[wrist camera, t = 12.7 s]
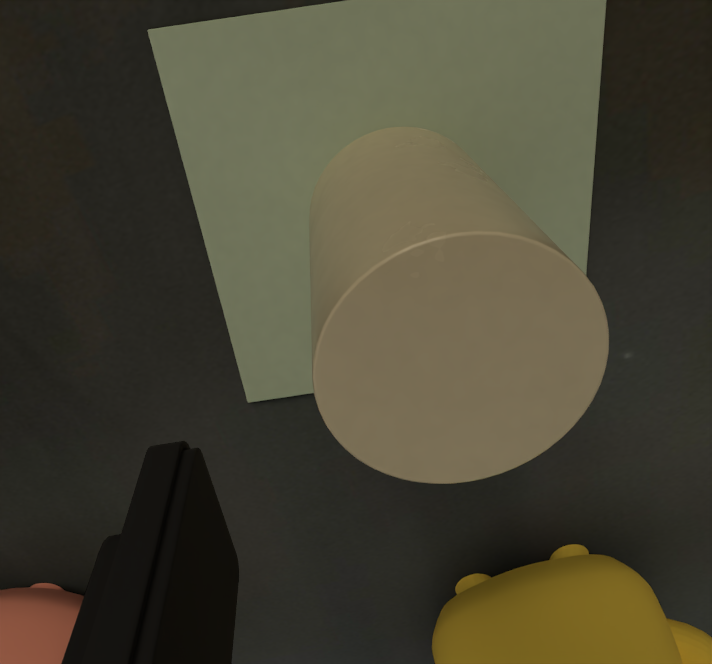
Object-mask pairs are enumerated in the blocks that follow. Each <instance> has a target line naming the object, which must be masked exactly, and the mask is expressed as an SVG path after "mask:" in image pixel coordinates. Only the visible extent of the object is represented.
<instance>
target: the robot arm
mask: <svg viewBox="0 0 712 664" xmlns="http://www.w3.org/2000/svg"><path fill="white" fill-rule="evenodd" d="M238 582H239V566H238V559H237V555H236V551H235V548H234V546H233V543H232V540H231V537H230V534H229V531H228V528H227V525H226V522H225V519H224V516H223V513H222V510H221V507H220V504H219V502H218V499H217V496H216V493H215V490H214V487H213V484H212V481H211V478H210V475H209V472H208V469H207V466H206V463H205V460H204V458H203V455H202V452H201V450H200V449H199V448H194V449H190V448H189V445H188V444H187V443H186V442H185V441H181V442H175V443H168V444H162V445H156V446H151V447H149V448H148V450H147V452H146V455H145V459H144V462H143V465H142V468H141V472H140V475H139V478H138V481H137V484H136V488H135V491H134V494H133V497H132V501H131V504H130V507H129V510H128V514H127V517H126V520H125V523H124V527H123V530H122V533H121V534H119V535H113V536H109V537H108V538H107V539H106V540H105V541H104V542H103V544H102V546H101V548H100V551H99V554H98V557H97V560H96V562H95V565H94V568H93V571H92V574H91V577H90V580H89V583H88V586H87V589H86V592H85V595H84V598H83V601H82V604H81V607H80V610H79V613H78V616H77V619H76V622H75V625H74V628H73V631H72V634H71V637H70V640H69V643H68V645H67V648H66V651H65V654H64V657H63V660H62V663H61V664H231V661H232V650H233V638H234V627H235V616H236V604H237V593H238Z"/></svg>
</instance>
